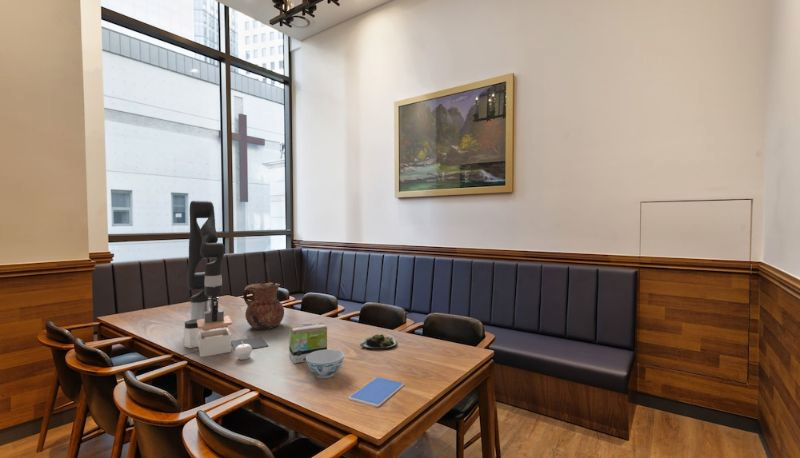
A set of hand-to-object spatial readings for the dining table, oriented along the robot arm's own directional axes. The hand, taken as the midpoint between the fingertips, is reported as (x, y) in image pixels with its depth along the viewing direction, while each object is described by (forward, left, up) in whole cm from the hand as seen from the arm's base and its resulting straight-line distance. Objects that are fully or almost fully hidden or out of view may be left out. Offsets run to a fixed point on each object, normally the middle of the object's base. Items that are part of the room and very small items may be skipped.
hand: (214, 319), depth 178 cm
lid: (0, 0, -3) cm, 3 cm away
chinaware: (+56, +35, -15) cm, 68 cm away
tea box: (+34, +35, -15) cm, 51 cm away
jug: (-28, +29, -15) cm, 43 cm away
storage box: (0, 0, -15) cm, 15 cm away
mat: (0, +16, -15) cm, 21 cm away
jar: (-14, -8, -15) cm, 22 cm away
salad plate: (+36, +70, -15) cm, 80 cm away
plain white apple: (+19, +10, -15) cm, 26 cm away
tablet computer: (+80, +46, -16) cm, 94 cm away
